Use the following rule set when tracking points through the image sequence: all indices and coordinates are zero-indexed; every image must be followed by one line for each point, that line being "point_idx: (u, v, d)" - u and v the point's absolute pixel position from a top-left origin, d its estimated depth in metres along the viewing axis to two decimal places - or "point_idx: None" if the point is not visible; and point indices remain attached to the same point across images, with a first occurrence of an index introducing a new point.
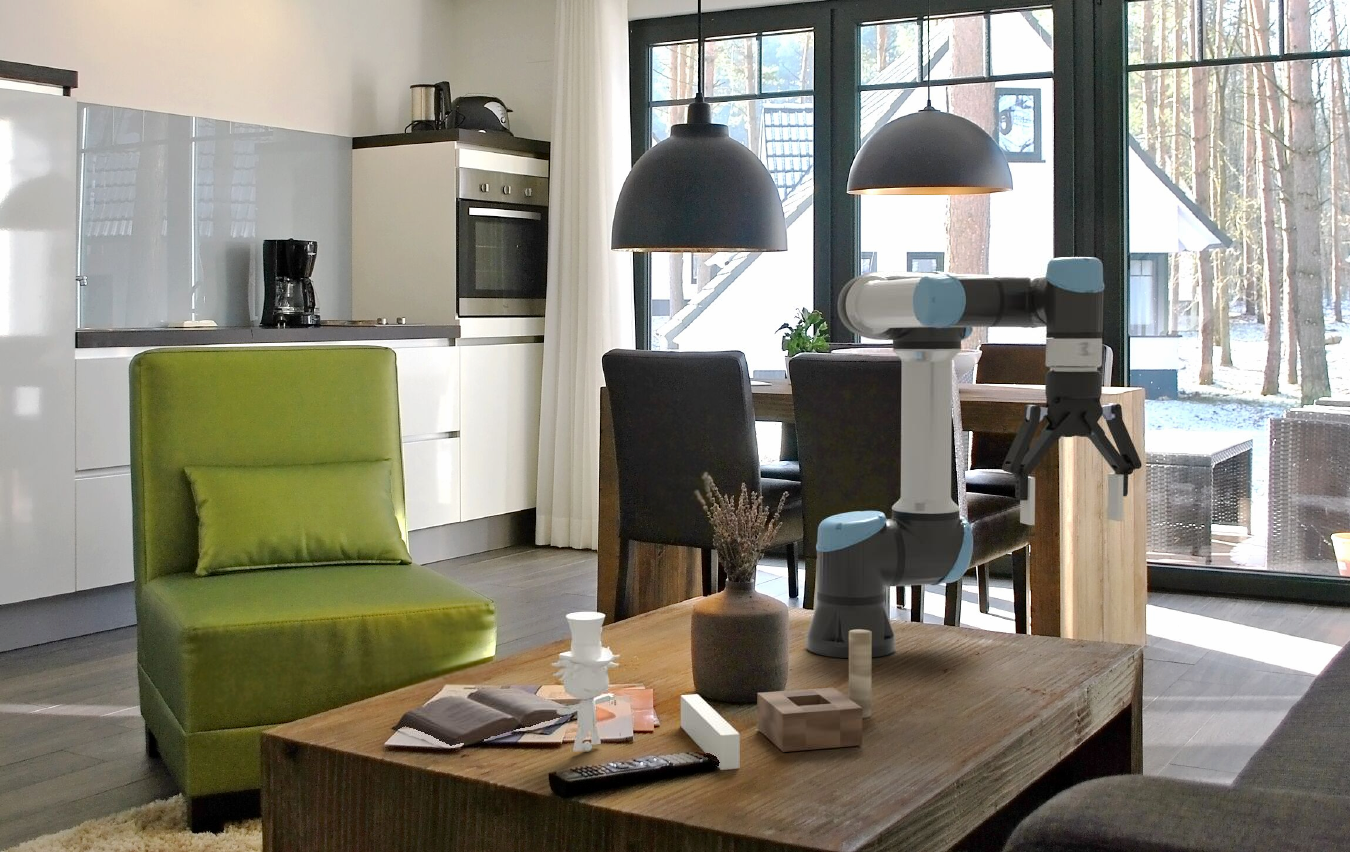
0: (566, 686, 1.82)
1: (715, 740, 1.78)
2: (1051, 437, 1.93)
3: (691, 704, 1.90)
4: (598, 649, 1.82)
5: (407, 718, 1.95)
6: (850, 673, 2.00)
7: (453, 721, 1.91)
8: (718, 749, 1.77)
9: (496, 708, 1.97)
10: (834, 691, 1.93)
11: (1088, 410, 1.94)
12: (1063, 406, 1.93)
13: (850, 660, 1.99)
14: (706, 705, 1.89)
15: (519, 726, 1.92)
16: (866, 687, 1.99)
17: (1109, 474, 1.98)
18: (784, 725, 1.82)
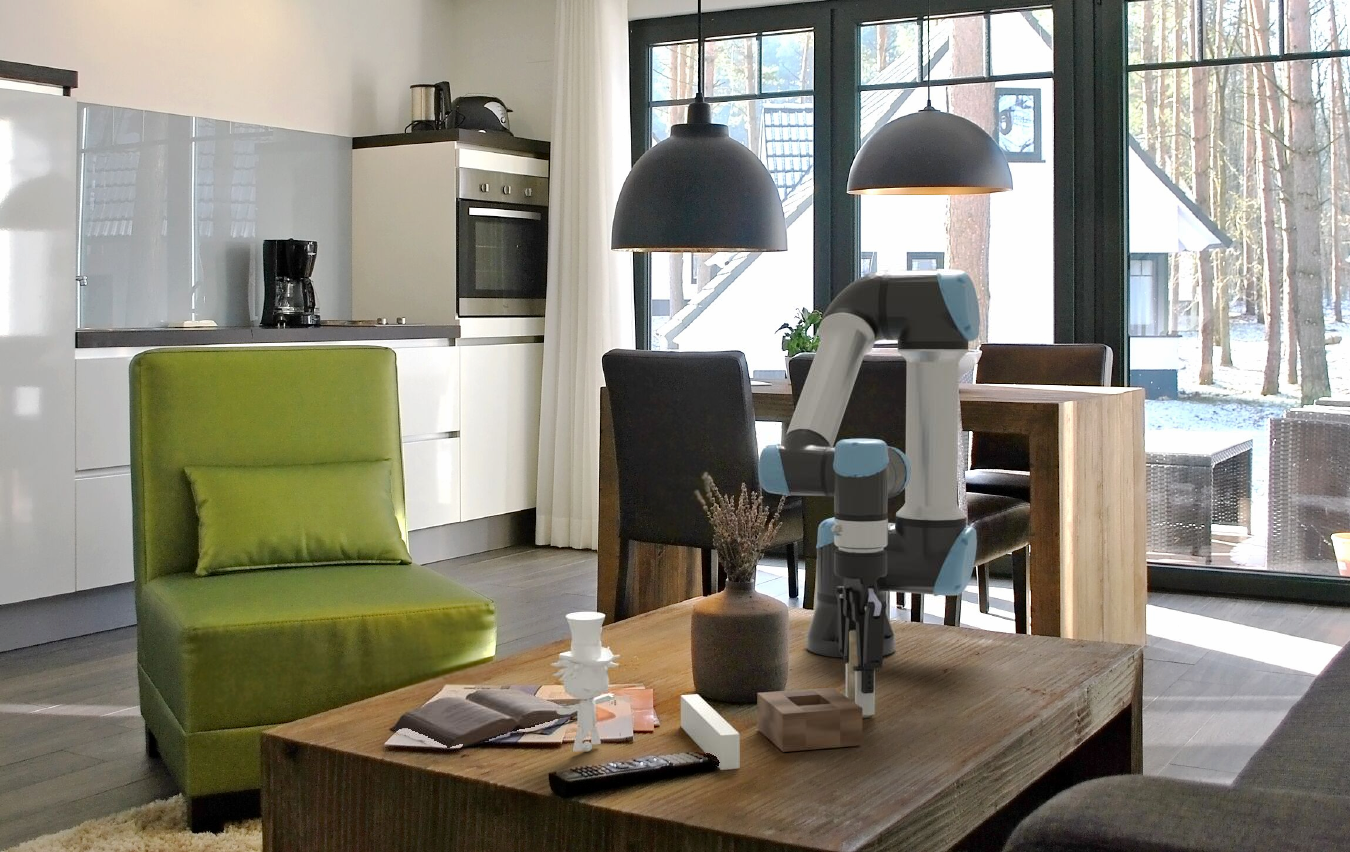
0: (566, 686, 1.82)
1: (715, 740, 1.78)
2: (846, 617, 2.01)
3: (691, 704, 1.90)
4: (598, 649, 1.82)
5: (405, 719, 1.94)
6: (850, 673, 1.99)
7: (451, 722, 1.91)
8: (718, 749, 1.77)
9: (494, 709, 1.96)
10: (834, 691, 1.93)
11: (858, 585, 1.97)
12: (846, 577, 2.02)
13: (850, 660, 1.99)
14: (706, 705, 1.89)
15: (517, 726, 1.92)
16: None
17: None
18: (784, 725, 1.82)
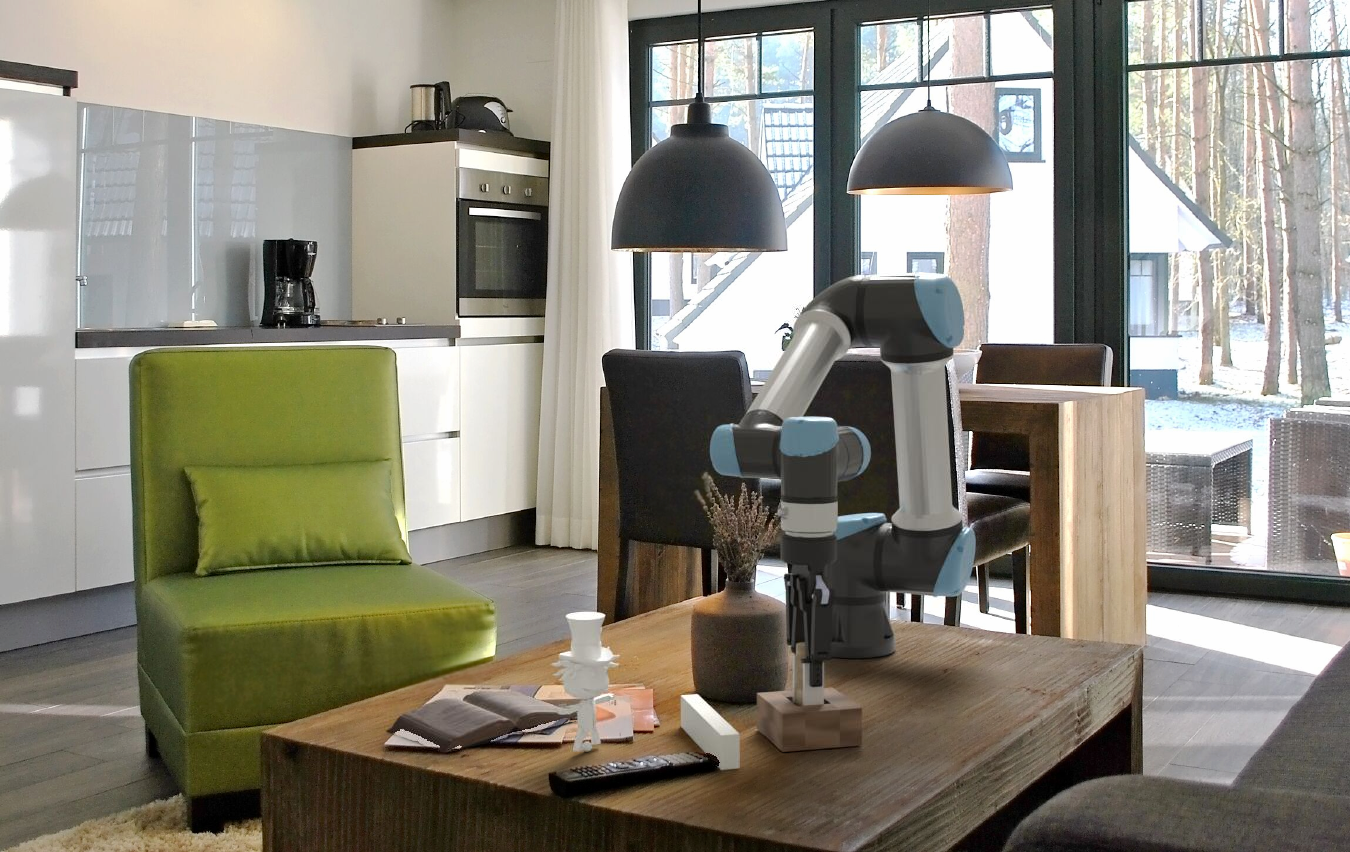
0: (566, 686, 1.82)
1: (715, 740, 1.78)
2: (794, 605, 1.90)
3: (691, 704, 1.90)
4: (598, 649, 1.82)
5: (402, 721, 1.93)
6: (797, 688, 1.88)
7: (448, 723, 1.90)
8: (718, 749, 1.77)
9: (492, 710, 1.96)
10: (834, 691, 1.93)
11: (805, 572, 1.85)
12: None
13: (797, 675, 1.88)
14: (706, 705, 1.89)
15: (515, 728, 1.91)
16: None
17: None
18: (784, 725, 1.82)
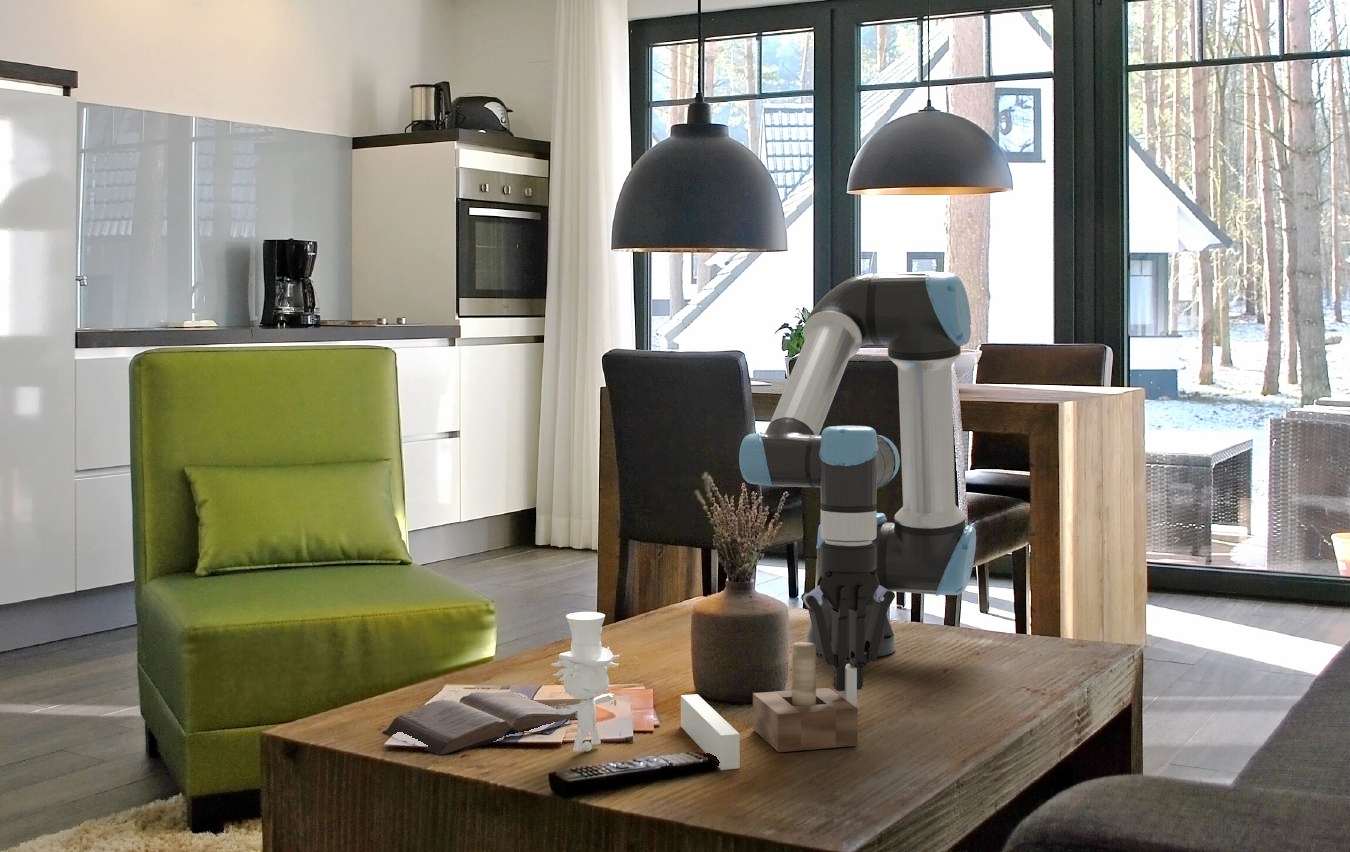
0: (566, 686, 1.82)
1: (715, 740, 1.78)
2: None
3: (691, 704, 1.90)
4: (598, 649, 1.82)
5: (398, 722, 1.92)
6: (793, 689, 1.88)
7: (444, 725, 1.89)
8: (718, 749, 1.77)
9: (488, 712, 1.95)
10: (830, 691, 1.93)
11: None
12: None
13: (793, 675, 1.88)
14: (706, 705, 1.89)
15: (511, 730, 1.90)
16: (810, 704, 1.87)
17: None
18: (780, 725, 1.82)
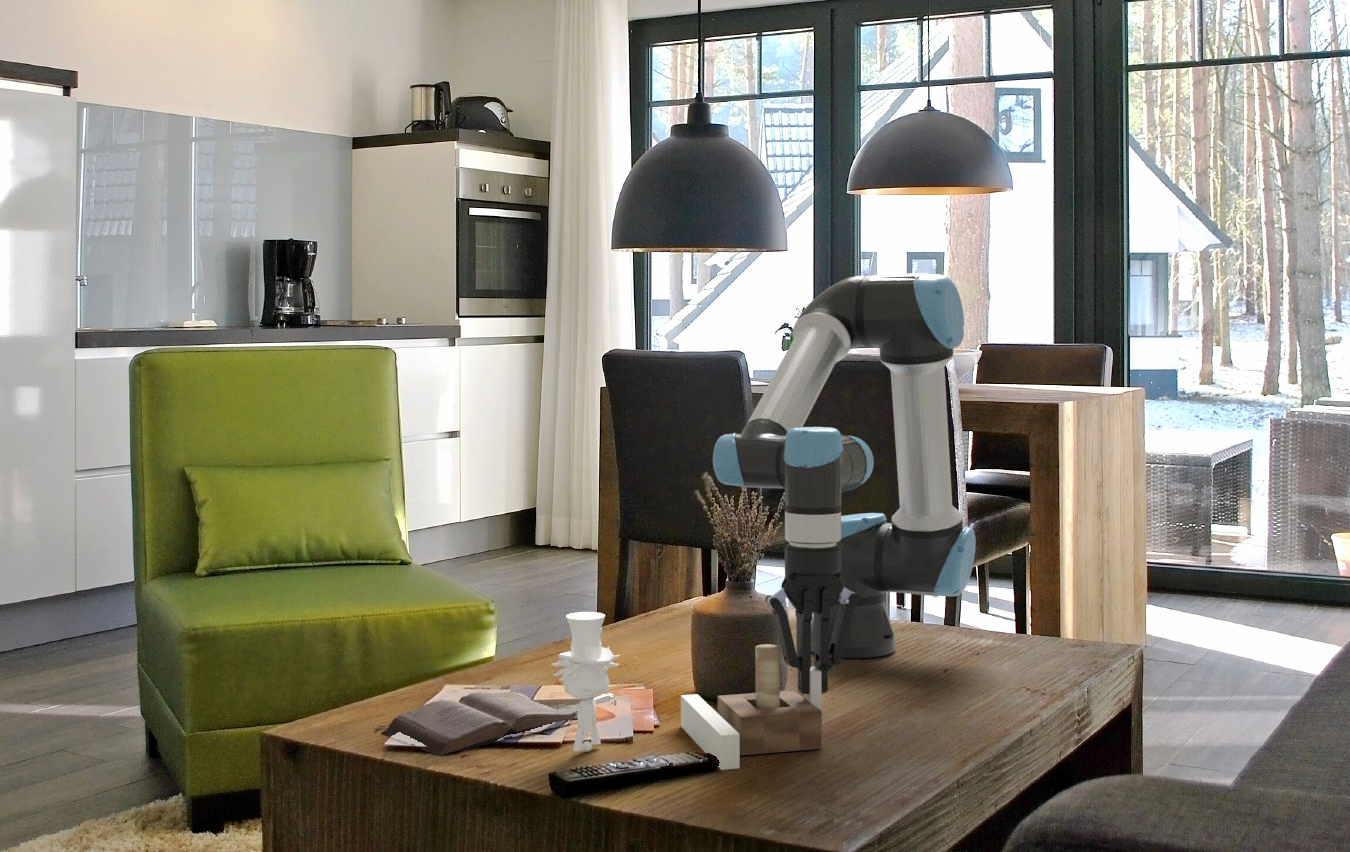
0: (566, 686, 1.82)
1: (715, 740, 1.78)
2: None
3: (691, 704, 1.90)
4: (598, 649, 1.82)
5: (397, 722, 1.92)
6: (757, 691, 1.87)
7: (444, 725, 1.89)
8: (718, 749, 1.77)
9: (487, 712, 1.95)
10: (795, 694, 1.92)
11: None
12: None
13: (756, 677, 1.87)
14: (706, 705, 1.89)
15: (510, 730, 1.90)
16: (773, 706, 1.86)
17: None
18: (743, 728, 1.81)
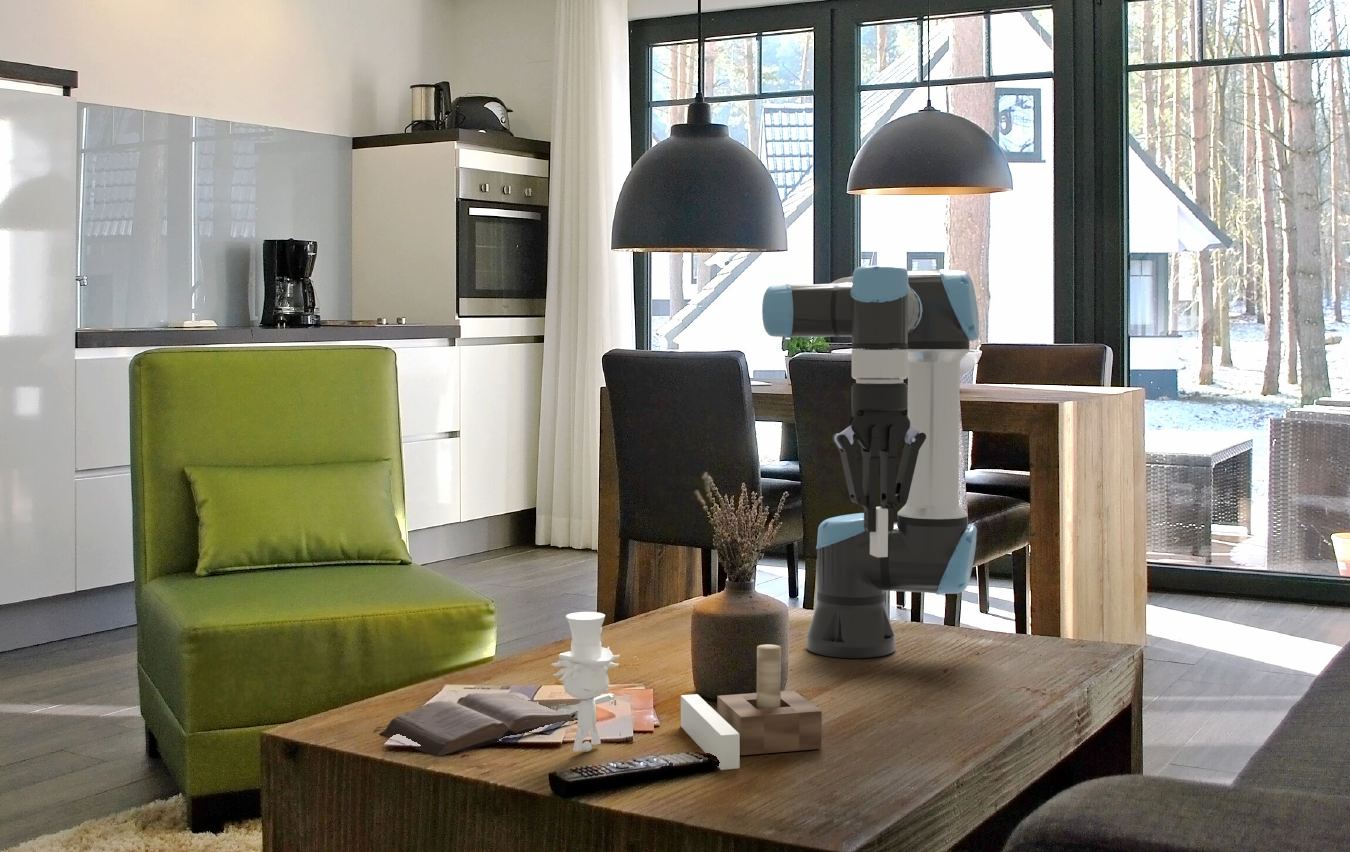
0: (566, 686, 1.82)
1: (715, 740, 1.78)
2: None
3: (691, 704, 1.90)
4: (598, 649, 1.82)
5: (395, 723, 1.92)
6: (757, 691, 1.87)
7: (442, 726, 1.88)
8: (718, 749, 1.77)
9: (486, 713, 1.94)
10: (795, 694, 1.92)
11: None
12: None
13: (758, 677, 1.86)
14: (706, 705, 1.89)
15: (509, 731, 1.90)
16: (774, 707, 1.86)
17: None
18: (743, 728, 1.81)
